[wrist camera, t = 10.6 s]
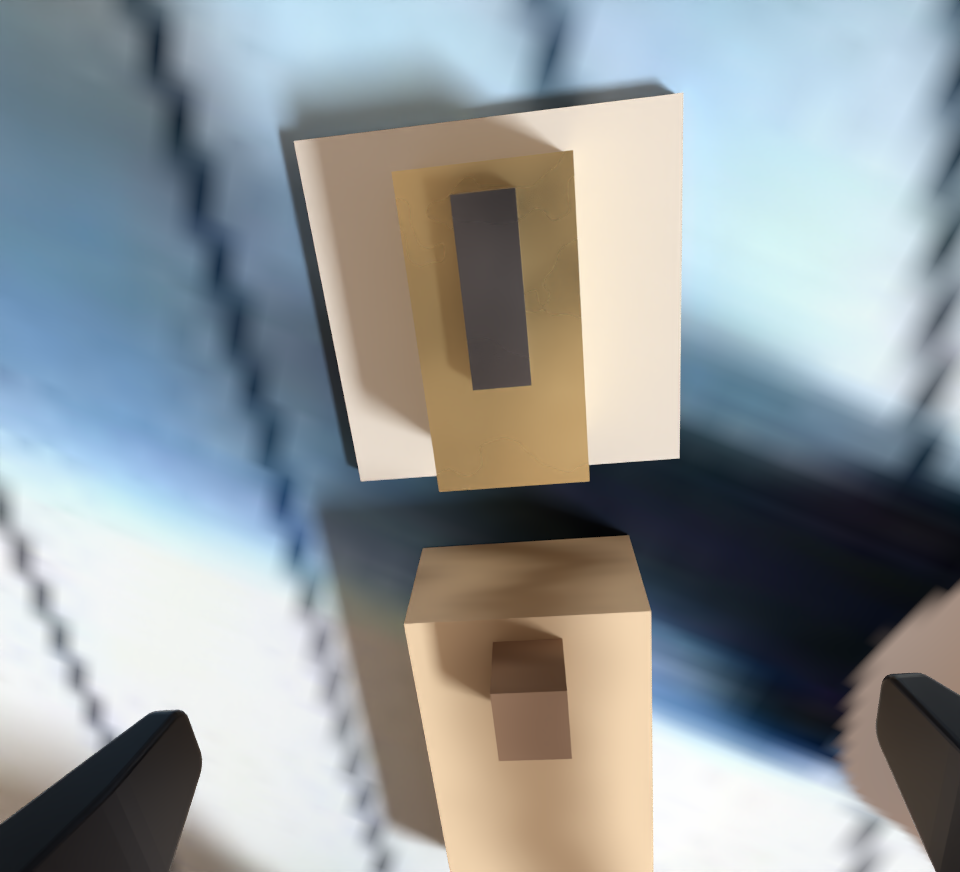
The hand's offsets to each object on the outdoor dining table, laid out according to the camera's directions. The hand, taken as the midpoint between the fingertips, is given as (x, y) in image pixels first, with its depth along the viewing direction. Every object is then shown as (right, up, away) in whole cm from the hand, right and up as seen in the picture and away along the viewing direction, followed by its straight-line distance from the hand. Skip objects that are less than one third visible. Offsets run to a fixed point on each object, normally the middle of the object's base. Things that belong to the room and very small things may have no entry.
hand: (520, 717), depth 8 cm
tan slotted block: (0, +7, +10) cm, 12 cm away
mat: (0, +7, +11) cm, 13 cm away
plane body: (+2, -7, +17) cm, 18 cm away
